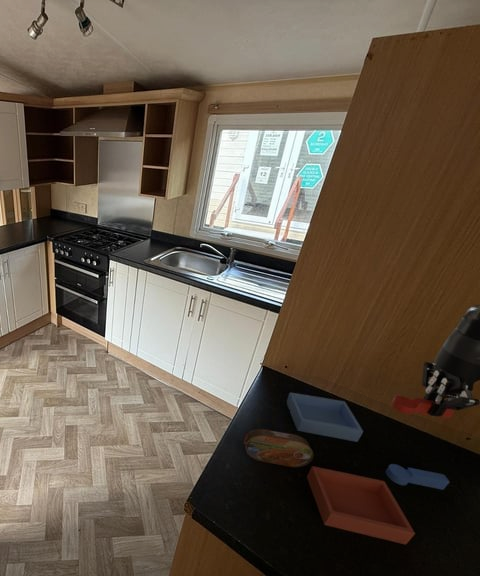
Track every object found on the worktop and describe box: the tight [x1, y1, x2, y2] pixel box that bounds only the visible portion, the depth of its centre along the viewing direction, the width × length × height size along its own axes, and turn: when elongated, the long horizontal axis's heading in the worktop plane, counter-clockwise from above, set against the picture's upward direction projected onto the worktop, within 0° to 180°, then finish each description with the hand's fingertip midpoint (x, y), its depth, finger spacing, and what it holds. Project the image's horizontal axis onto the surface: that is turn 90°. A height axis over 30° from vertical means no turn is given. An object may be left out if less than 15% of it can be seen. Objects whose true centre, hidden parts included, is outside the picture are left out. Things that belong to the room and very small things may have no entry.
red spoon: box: [391, 395, 456, 419], centre depth 74 cm, size 11×4×3 cm, turn 76°
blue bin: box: [286, 392, 364, 443], centre depth 89 cm, size 15×11×4 cm
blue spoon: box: [385, 463, 450, 491], centre depth 73 cm, size 11×4×3 cm, turn 76°
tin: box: [243, 428, 314, 468], centre depth 77 cm, size 15×3×8 cm, turn 76°
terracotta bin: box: [306, 465, 416, 545], centre depth 68 cm, size 15×11×4 cm
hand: (429, 410), depth 74 cm, fingers closed on red spoon, 2 cm apart
